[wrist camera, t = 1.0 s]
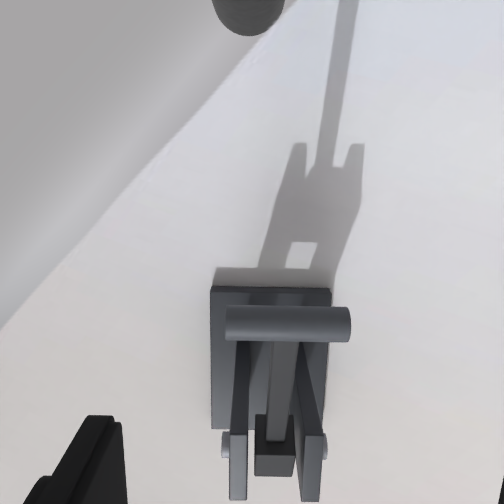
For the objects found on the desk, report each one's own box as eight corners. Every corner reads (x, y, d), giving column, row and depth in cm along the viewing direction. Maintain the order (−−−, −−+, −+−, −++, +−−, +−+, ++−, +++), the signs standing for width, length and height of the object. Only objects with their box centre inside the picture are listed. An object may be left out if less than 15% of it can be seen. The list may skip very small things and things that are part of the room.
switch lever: (226, 289, 18) (223, 335, 16) (345, 291, 18) (355, 337, 16) (232, 435, 27) (230, 476, 25) (312, 437, 27) (316, 477, 25)
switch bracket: (211, 286, 33) (189, 369, 22) (329, 287, 33) (368, 372, 22) (212, 419, 36) (194, 552, 25) (319, 421, 36) (349, 555, 25)
